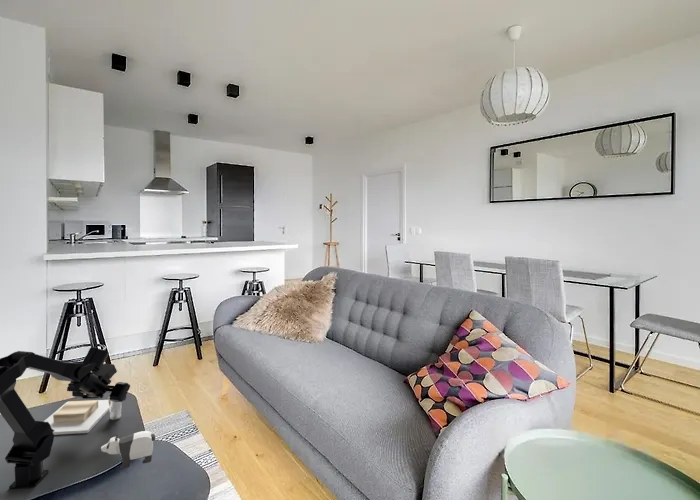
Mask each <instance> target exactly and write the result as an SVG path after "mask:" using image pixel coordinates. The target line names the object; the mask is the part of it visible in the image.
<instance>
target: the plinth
mask: <svg viewBox="0 0 700 500" xmlns="http://www.w3.org/2000/svg"><path fill="white" fill-rule="evenodd" d="M98 400H99V399H95V400H94V399H93V400H92V399H91V400H90V399H87V400H70V401H69V402H68V401H67V402H68V403H67V404H66V405H65V406H64V407H62V406H61V407H62V408H61V409H60V410H59V411H58V412H56V411H55V412H56V413H55V414H54V415H53V419H54V423H64V422H83V421H85V420H86V419H87V418H88V417H89V416H90V415H91V414H92V413H93V412H94V411H95V410H96V409H97V408H98Z"/></svg>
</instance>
